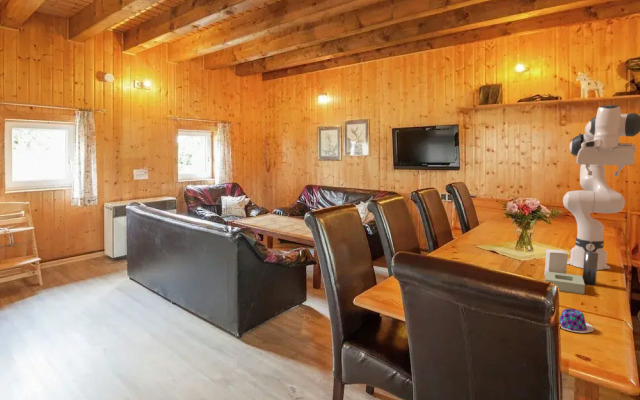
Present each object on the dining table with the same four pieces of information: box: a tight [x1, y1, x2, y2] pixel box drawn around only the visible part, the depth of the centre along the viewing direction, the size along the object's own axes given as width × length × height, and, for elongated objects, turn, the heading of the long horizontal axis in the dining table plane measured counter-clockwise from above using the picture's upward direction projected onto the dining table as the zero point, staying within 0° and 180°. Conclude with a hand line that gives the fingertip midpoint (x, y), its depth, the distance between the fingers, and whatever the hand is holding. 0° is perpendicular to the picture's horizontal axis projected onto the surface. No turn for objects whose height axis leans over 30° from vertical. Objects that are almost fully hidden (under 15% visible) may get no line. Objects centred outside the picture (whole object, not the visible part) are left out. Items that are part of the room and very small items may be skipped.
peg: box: [582, 251, 598, 286], centre depth 173 cm, size 5×5×14 cm
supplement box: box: [543, 248, 568, 276], centre depth 181 cm, size 7×7×13 cm
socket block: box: [544, 270, 586, 295], centre depth 169 cm, size 14×14×4 cm
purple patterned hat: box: [559, 308, 595, 334], centre depth 130 cm, size 12×12×5 cm
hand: (602, 175), depth 169 cm, fingers open, 8 cm apart
